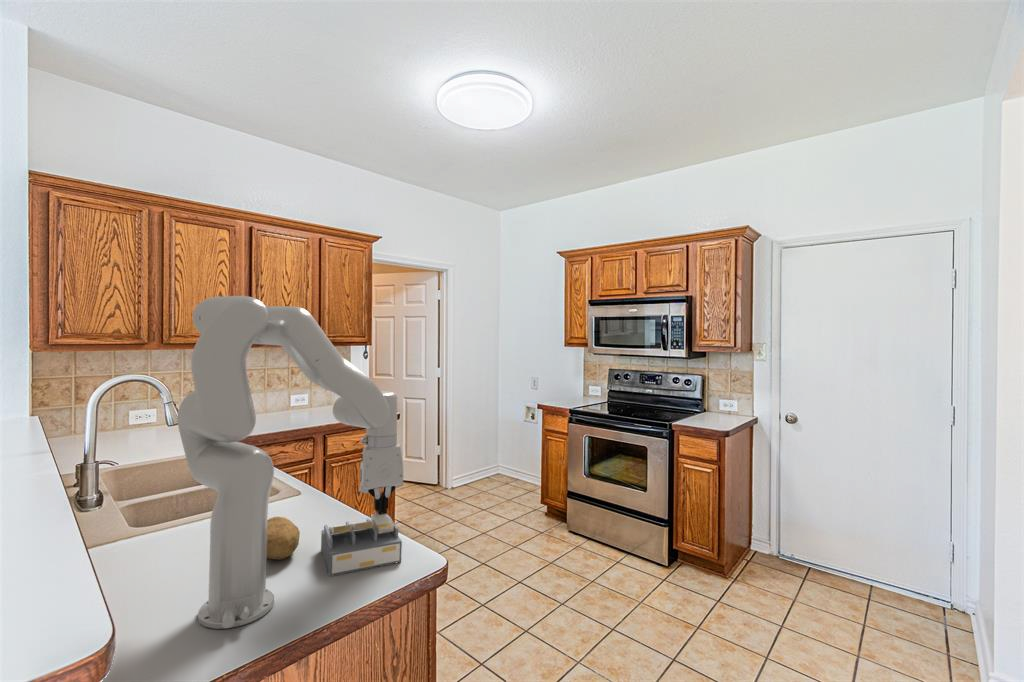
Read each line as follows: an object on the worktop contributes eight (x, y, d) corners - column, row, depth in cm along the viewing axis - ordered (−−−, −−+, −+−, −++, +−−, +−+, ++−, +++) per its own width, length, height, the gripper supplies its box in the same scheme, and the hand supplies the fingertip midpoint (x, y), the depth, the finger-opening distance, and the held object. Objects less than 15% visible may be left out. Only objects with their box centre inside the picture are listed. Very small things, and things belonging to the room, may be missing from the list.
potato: (256, 574, 106) (257, 538, 106) (252, 548, 118) (253, 516, 118) (304, 564, 111) (305, 530, 111) (296, 541, 123) (297, 510, 123)
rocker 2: (372, 527, 113) (372, 521, 113) (356, 530, 111) (356, 523, 112) (365, 527, 119) (365, 521, 120) (350, 530, 118) (350, 523, 118)
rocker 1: (350, 531, 110) (350, 524, 111) (334, 533, 109) (333, 527, 109) (344, 530, 117) (344, 524, 117) (328, 533, 115) (328, 527, 116)
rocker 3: (393, 531, 115) (393, 525, 115) (378, 533, 114) (378, 527, 113) (385, 517, 122) (385, 511, 122) (370, 519, 121) (371, 514, 120)
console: (401, 562, 113) (402, 532, 113) (329, 577, 105) (330, 544, 105) (386, 539, 126) (387, 511, 125) (321, 550, 118) (321, 521, 118)
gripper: (354, 447, 114) (353, 523, 115) (415, 440, 122) (414, 512, 122) (348, 440, 121) (347, 512, 121) (406, 434, 128) (405, 502, 129)
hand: (381, 512), depth 122 cm, fingers closed
